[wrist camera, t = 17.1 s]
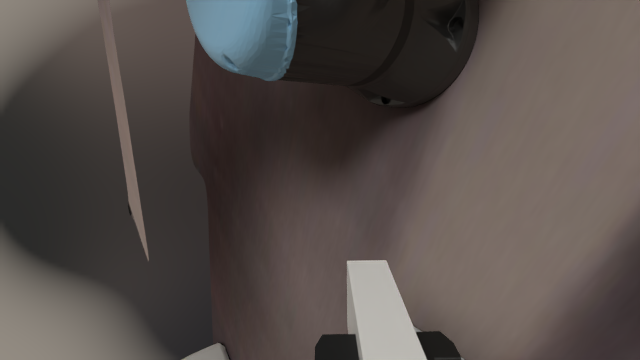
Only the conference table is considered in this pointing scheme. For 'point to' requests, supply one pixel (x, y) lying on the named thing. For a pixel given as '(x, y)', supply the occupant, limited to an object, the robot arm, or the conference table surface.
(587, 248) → the conference table surface
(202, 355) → the stereo radio cassette player
